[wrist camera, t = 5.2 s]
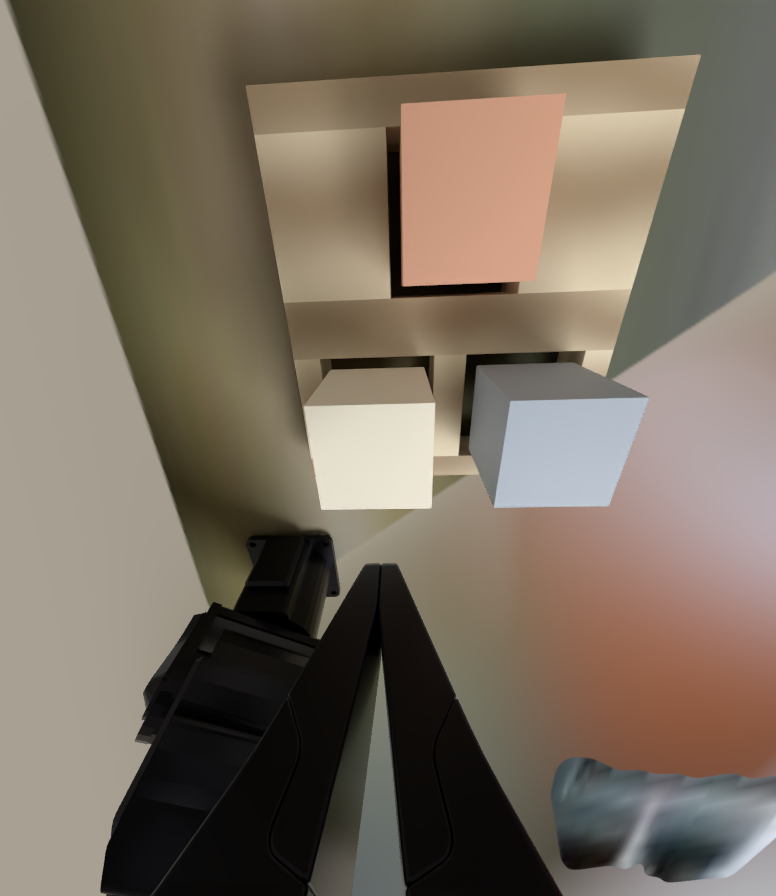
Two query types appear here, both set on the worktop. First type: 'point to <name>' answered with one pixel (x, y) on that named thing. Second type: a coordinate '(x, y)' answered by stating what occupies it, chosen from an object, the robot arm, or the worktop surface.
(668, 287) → the worktop surface
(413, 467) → the cream button
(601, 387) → the slate-blue button
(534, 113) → the salmon pink block
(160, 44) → the worktop surface
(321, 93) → the panel
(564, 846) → the worktop surface
